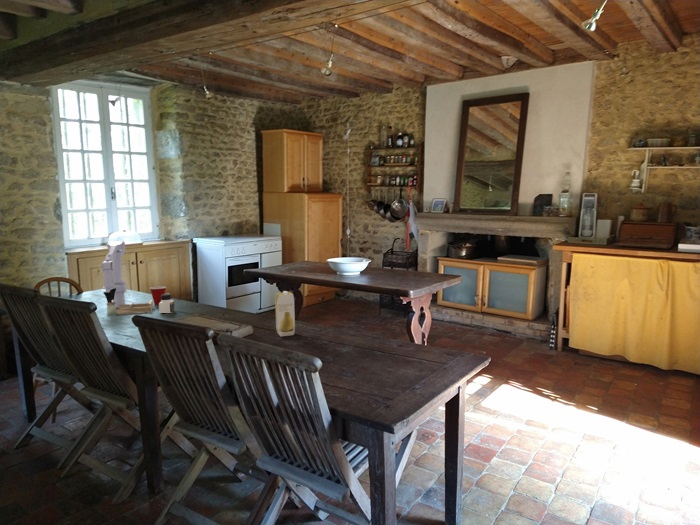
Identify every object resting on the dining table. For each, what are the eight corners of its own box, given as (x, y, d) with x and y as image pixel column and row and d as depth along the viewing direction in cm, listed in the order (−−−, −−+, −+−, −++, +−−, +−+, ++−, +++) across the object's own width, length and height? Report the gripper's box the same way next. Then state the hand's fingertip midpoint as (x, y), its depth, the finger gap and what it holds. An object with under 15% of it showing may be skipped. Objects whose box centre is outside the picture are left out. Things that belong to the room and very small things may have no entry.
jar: (108, 312, 311) (107, 302, 310) (116, 312, 312) (116, 301, 311) (106, 314, 306) (105, 304, 305) (115, 314, 307) (114, 303, 306)
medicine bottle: (170, 314, 307) (169, 295, 305) (159, 314, 307) (158, 295, 305) (174, 311, 314) (173, 292, 312) (163, 311, 314) (162, 292, 313)
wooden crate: (120, 310, 318) (119, 301, 317) (152, 307, 323) (152, 299, 322) (116, 314, 306) (116, 306, 305) (151, 312, 312) (150, 303, 311)
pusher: (131, 308, 318) (131, 301, 317) (133, 308, 319) (133, 301, 318) (129, 311, 309) (129, 304, 309) (131, 311, 310) (131, 304, 309)
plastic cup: (167, 301, 340) (166, 284, 338) (167, 305, 330) (166, 287, 328) (151, 302, 337) (149, 285, 335) (150, 306, 327) (148, 288, 325)
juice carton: (279, 337, 258) (277, 293, 254) (275, 333, 265) (274, 290, 261) (296, 335, 262) (295, 291, 258) (291, 331, 269) (290, 288, 265)
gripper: (104, 278, 311) (106, 299, 314) (99, 282, 298) (101, 304, 300) (116, 277, 313) (118, 298, 316) (112, 281, 300) (114, 303, 302)
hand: (110, 301), depth 308 cm, fingers open, 7 cm apart
